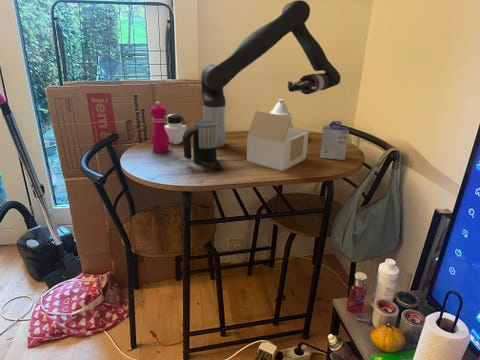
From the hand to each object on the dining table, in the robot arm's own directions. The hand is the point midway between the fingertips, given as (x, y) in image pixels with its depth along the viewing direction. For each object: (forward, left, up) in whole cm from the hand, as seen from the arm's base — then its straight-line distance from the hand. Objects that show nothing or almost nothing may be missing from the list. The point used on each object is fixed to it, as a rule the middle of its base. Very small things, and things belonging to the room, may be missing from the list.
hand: (290, 88), depth 132 cm
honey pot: (-4, +28, -27) cm, 39 cm away
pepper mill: (-51, -4, -27) cm, 58 cm away
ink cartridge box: (+19, +3, -27) cm, 33 cm away
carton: (-3, -6, -27) cm, 28 cm away
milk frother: (-28, -16, -27) cm, 42 cm away
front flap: (-6, -12, -12) cm, 18 cm away
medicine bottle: (-49, +9, -27) cm, 57 cm away
